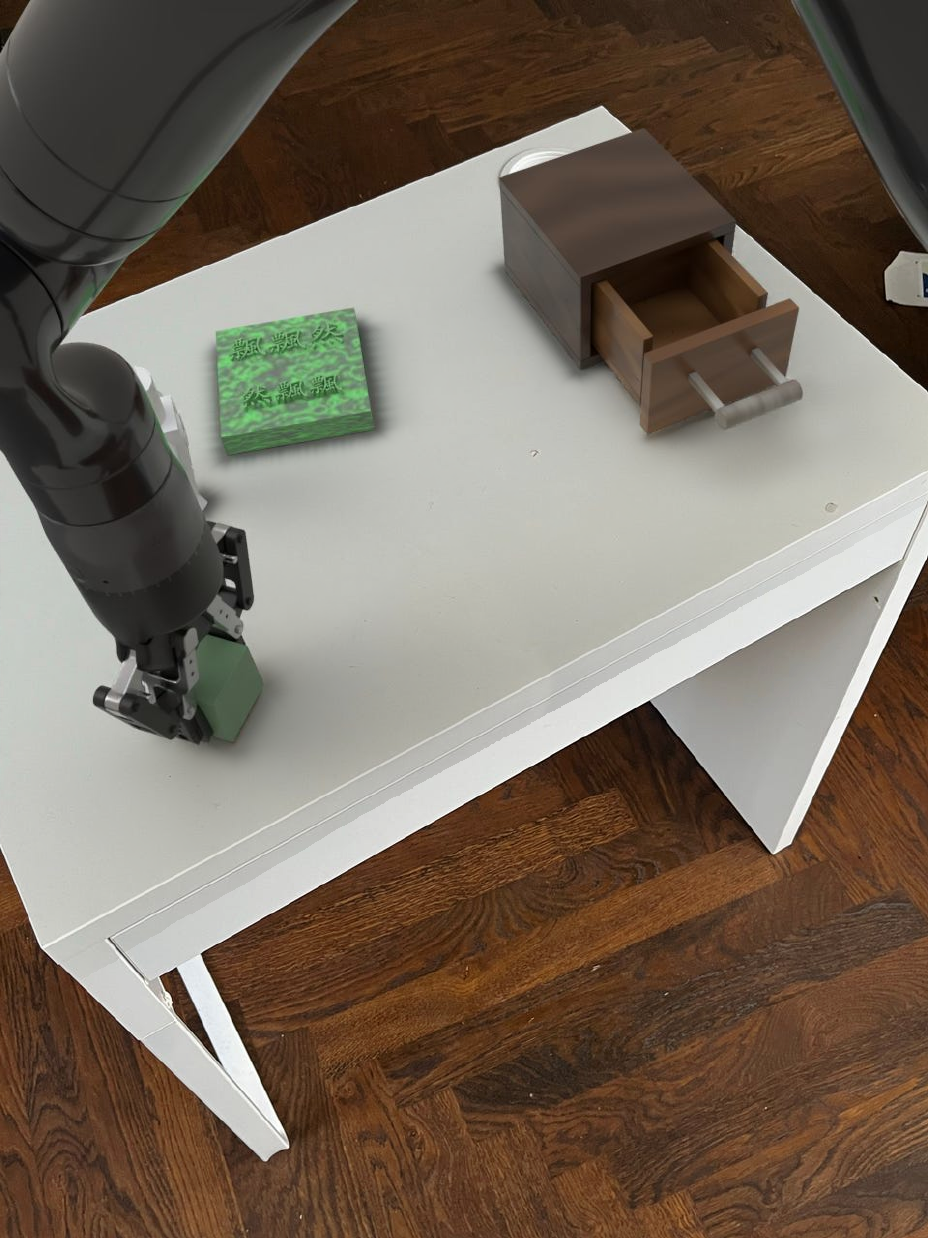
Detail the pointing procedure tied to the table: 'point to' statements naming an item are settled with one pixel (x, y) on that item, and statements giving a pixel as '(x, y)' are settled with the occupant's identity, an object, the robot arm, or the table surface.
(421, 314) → the table surface
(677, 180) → the cabinet
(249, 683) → the block
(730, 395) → the drawer
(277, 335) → the green jade tablet
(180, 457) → the toy robot
